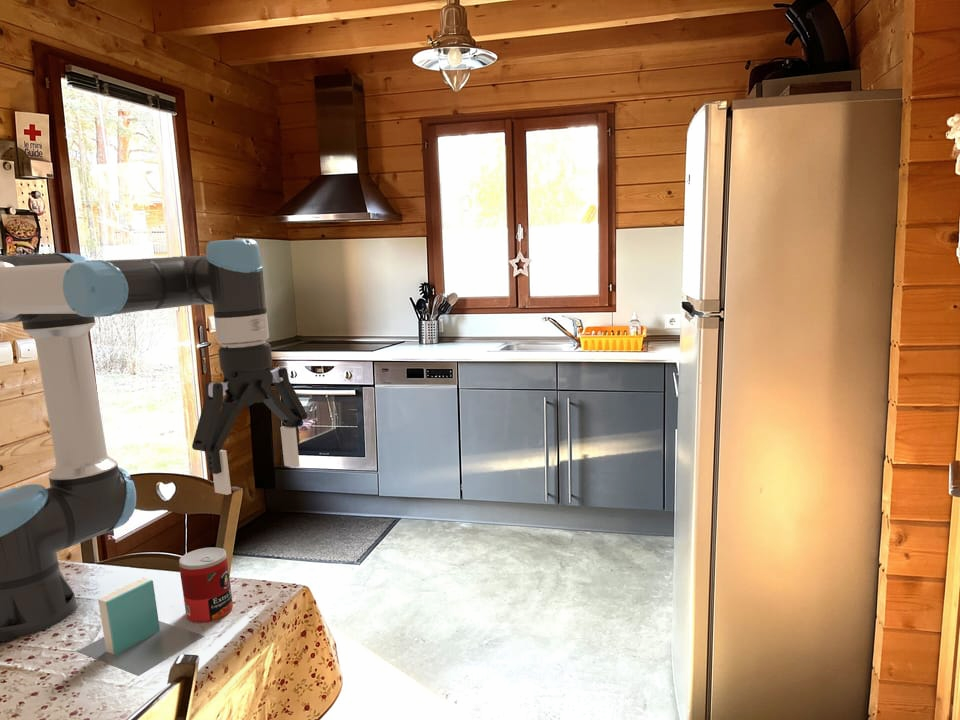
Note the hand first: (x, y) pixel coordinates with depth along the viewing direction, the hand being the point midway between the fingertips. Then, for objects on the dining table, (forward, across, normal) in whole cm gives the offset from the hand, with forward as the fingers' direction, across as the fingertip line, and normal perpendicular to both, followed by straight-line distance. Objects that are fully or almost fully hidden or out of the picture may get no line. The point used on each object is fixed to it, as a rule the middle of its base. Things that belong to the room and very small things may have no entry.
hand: (259, 479), depth 110 cm
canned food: (+28, +1, +18) cm, 34 cm away
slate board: (+28, -11, +20) cm, 36 cm away
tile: (+27, -11, +22) cm, 37 cm away
